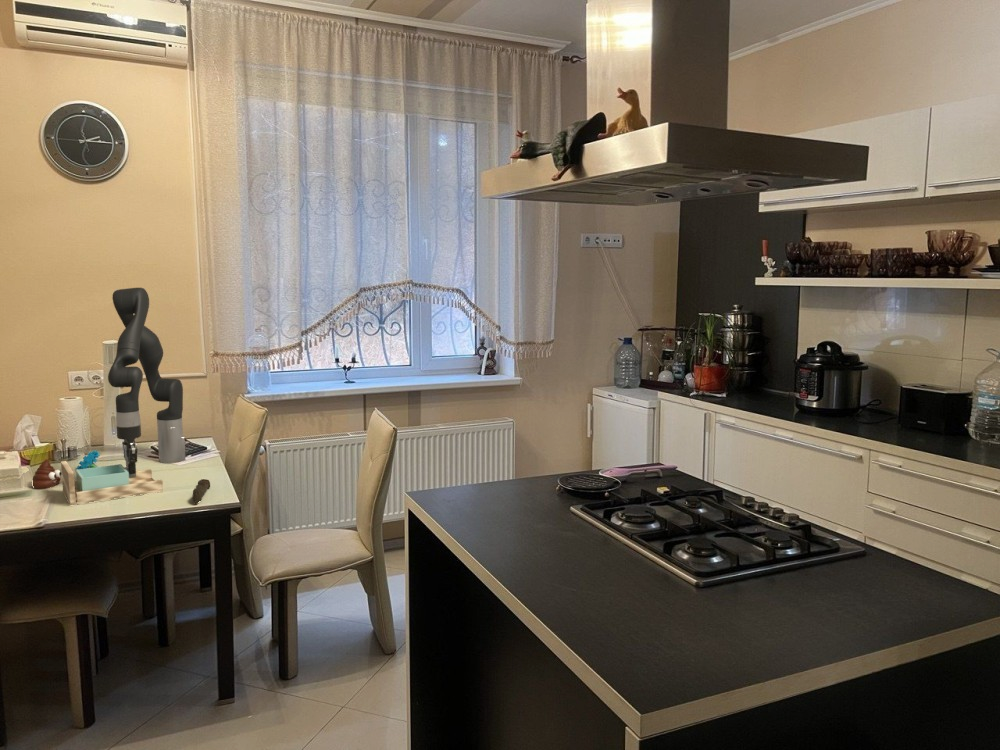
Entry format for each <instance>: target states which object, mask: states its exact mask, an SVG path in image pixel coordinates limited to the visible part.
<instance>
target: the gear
mask: <svg viewBox="0 0 1000 750" xmlns="http://www.w3.org/2000/svg"><path fill="white" fill-rule="evenodd" d="M99 457H100V451H98V450H92V452H91V451H90V452H88V453H87V456H86V455H84V456H83V457H82V459H83V460H80V461H79V462H78V466H77V467H76V470H80V469H87V468H95V467H98V466H97V465H96V464H95V463H96V462H98V459H97V458H99Z"/></svg>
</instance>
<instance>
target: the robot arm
mask: <svg viewBox="0 0 1000 750" xmlns="http://www.w3.org/2000/svg"><path fill="white" fill-rule="evenodd" d="M111 298H112V304H113V306H114V309H115V312H117V313H116V314H117V315H118V317H119V319H120V320H121V322H122V324H123V326H124V327H125V328H124V329H123V331H122V333H120V335H119V338H118V340H117V345H116V346H117V347H116V356H115V358H114V361H113V363H112V365H111V366H110V369H109V372H108V374H107V381H108V383H109V385H110V386H111V387H112V388H130V391H128V392H125V393H120V394H117V395H116V397H115V412H116V414H115V415H116V416H115V427H116V428H115V429H116V438H117V439H119V440H123V441H122V442H121V445H122V451H123V458H124V460H125V462H126V457H127V459H128V471H129V474H135V473H136V471H137V463H138V450H139V449H138V444H137V442H136V440H135V439H138V438H140V437H141V436H142V427H141V425H142V424H141V414H140V407H139V405H140V404H139V402H140V401H139V400H140V399H139V398H140V397H139V395H140V389H141V386H142V382H143V377H145V379H146V382H147V386H148V390H149V392H150V395H151V397H152V399H153V400H154V401H156V402H163V403H164V402H165V403H166V402H167V403H168V407H166V408H165V409H161V410H159V411H157V412H156V424H157V425H156V426H157V446H158V447H157V449H158V462H159V463H164V464H173V463H179V462H182V460H183V461H186V444H185V443H186V441H185V440H186V439H185V438H186V437H185V436H184V430H183V429H184V428H183V427H184V426H183V410H184V409H183V408H184V401H183V400H184V397H183V396H184V388H183V387H184V386H183V382H182V381H181V380H180V379H179V378H162V377H161V375H160V372H159V371H160V370H159V367H160V365H161V363H162V360H163V357H164V349H163V347H162V343H161V341H160V339H159V336H158V335H157V334H156V333H155V332H153V330H151V329H150V328H148V326H145V324H146V320H147V316H148V312H149V308H150V297H149V294H148V292H147V290H146V289H145V288H143V287H128V288H121V289H120V288H119V289H116V290H114V291H113V293H112V297H111ZM138 361H139V362H140V365H141V368H142V369H141V368H140V367H139V366H133V365H135V364H136V363H138ZM131 365H132V366H131ZM144 375H145V376H144ZM133 457H134V459H131V458H133ZM135 463H136V464H135Z"/></svg>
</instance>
